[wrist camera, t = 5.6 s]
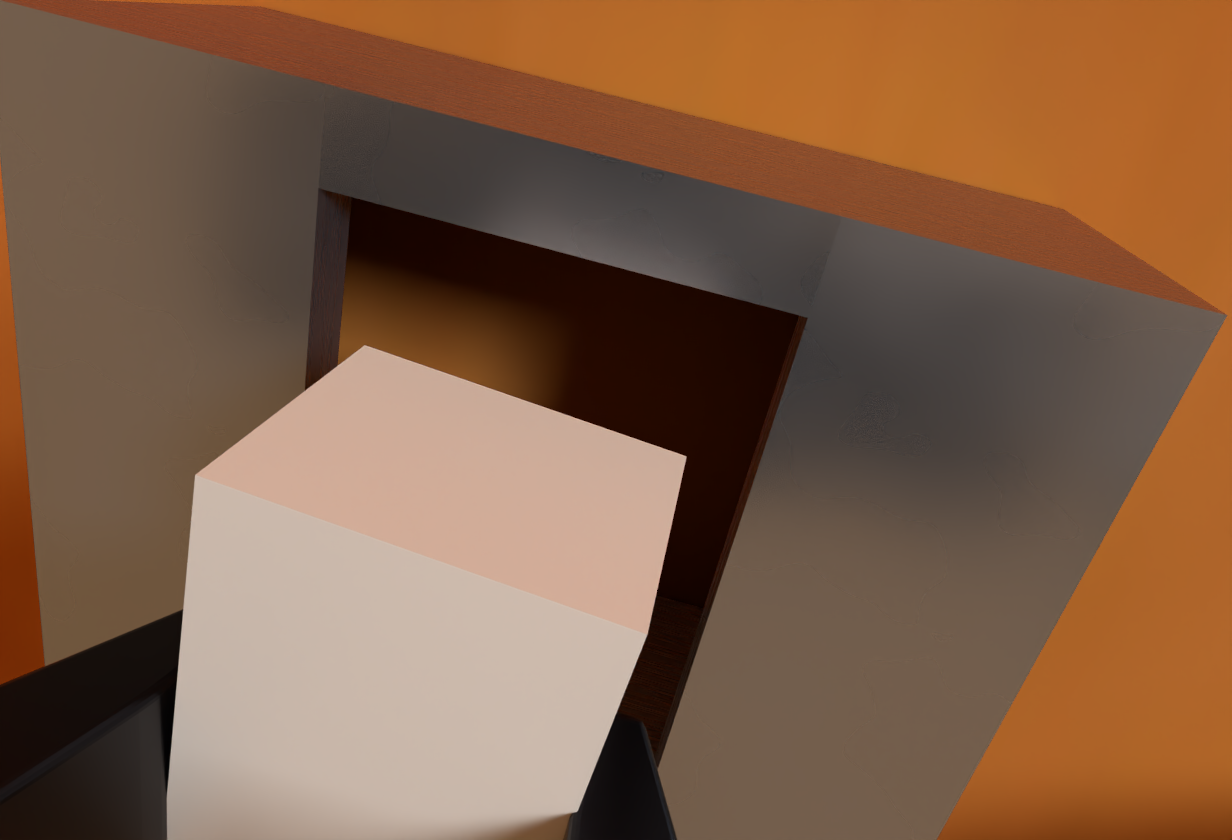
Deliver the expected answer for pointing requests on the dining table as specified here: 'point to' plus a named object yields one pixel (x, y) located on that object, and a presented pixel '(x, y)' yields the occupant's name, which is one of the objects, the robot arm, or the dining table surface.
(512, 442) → the white rectangular block
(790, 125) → the dining table surface
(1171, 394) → the box
